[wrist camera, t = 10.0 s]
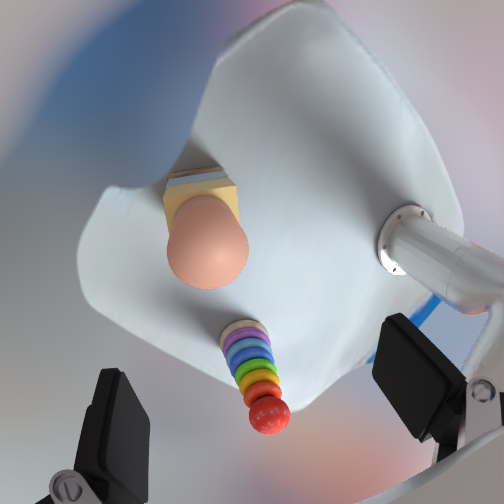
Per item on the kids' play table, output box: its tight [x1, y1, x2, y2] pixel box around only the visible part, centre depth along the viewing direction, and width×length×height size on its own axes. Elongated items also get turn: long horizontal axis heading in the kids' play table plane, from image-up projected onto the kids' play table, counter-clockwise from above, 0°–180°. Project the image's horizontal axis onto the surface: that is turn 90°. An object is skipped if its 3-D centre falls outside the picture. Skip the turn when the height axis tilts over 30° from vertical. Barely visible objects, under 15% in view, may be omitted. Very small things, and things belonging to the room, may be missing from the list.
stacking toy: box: [220, 320, 290, 434], centre depth 38 cm, size 8×8×19 cm
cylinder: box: [167, 195, 249, 289], centre depth 20 cm, size 5×5×6 cm
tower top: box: [162, 178, 241, 236], centre depth 26 cm, size 6×6×5 cm
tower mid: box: [166, 171, 229, 189], centre depth 30 cm, size 6×6×5 cm
